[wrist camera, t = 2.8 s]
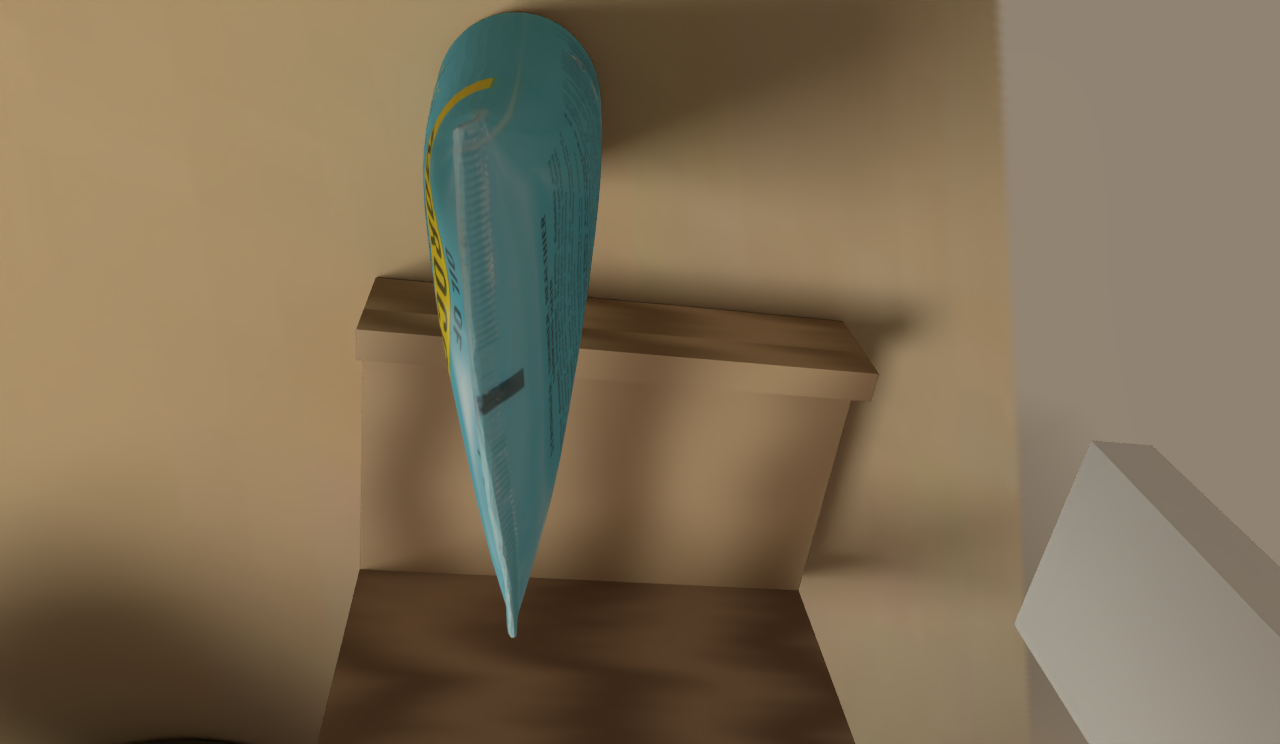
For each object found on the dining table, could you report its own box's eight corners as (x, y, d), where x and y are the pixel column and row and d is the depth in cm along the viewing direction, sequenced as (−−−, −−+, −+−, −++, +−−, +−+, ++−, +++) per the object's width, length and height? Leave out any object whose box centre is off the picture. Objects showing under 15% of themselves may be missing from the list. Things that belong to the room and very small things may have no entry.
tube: (414, -22, 27) (225, 157, 10) (582, -43, 28) (666, 101, 11) (464, 225, 31) (383, 659, 14) (613, 205, 31) (712, 610, 14)
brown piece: (369, 558, 37) (287, 910, 24) (375, 277, 31) (275, 543, 19) (775, 578, 39) (888, 907, 27) (842, 321, 34) (1021, 581, 22)
